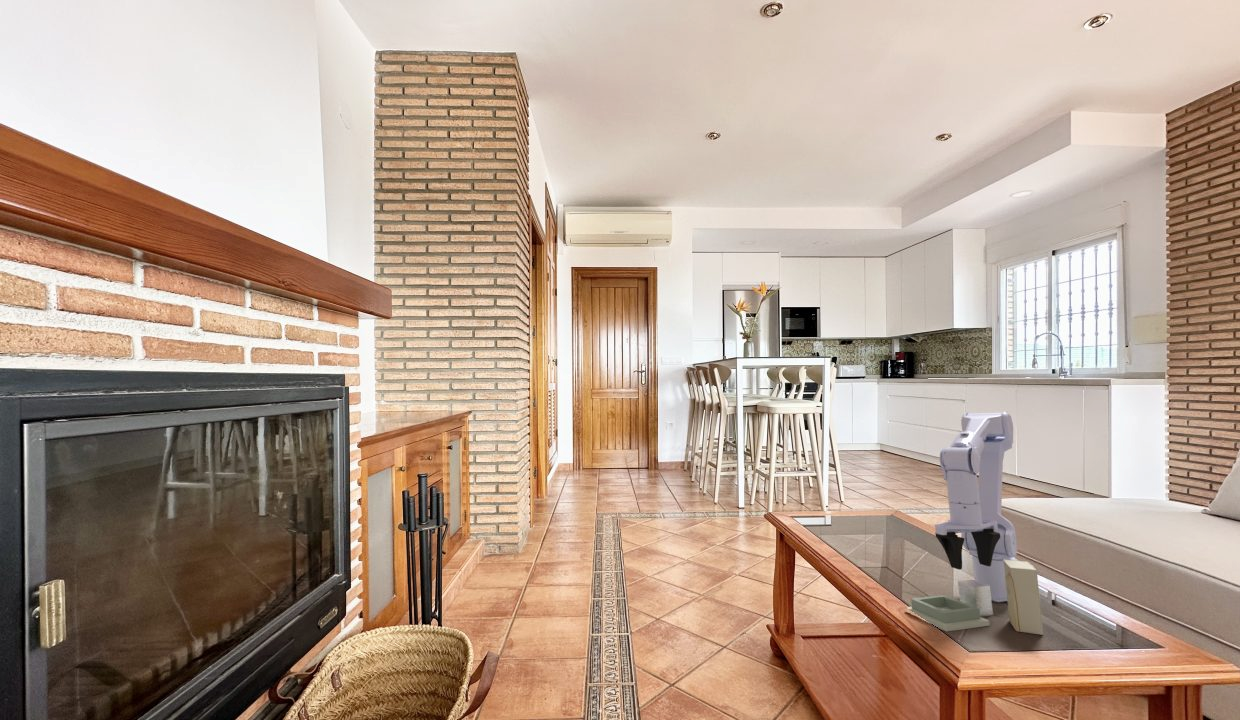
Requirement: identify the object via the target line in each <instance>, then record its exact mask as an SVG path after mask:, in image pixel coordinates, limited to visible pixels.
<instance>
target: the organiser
mask: <svg viewBox="0 0 1240 720" xmlns="http://www.w3.org/2000/svg"><path fill="white" fill-rule="evenodd" d="M910 602H911V606H906V607H907V609H909V610H910V611H912V612H914V613H915V614H917V615H918V616H920V617H921V618H923V619H925V620H926V621H928V622H930V623H931V624H933V625H934V626H933V625H932V626H933V627H935V626H936V628H937V627H938V629H940V630H942V631H945V632H953V631H960V630H968V629H975V628H976V629H977V628H984V627H989V626H990V625H991V624H990V620H989V619H987V618H984V617H983V616H982V617H980V610H979V608H976V607H974V606H971V605H969V604H966V603H964V602H961V601H960V600H958V599H956V598H954V597H950V596H948V595H946V594H940V595H932V596H923V597H913V598H911V599H910ZM931 624H930V625H931Z"/></svg>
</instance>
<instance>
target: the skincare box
mask: <svg viewBox="0 0 1240 720" xmlns="http://www.w3.org/2000/svg"><path fill="white" fill-rule="evenodd" d="M1003 561H1004V569H1005V580H1006V590H1007V601H1006V602H1007V611H1008V612H1007V613H1008V620H1009V622H1010V624H1011V626H1012V627H1013V629H1014V631H1016V632H1021V633H1026V634H1031V635H1032V634H1034V635H1040V636H1041V635H1044V631H1043V628H1044V627H1043V621H1042V619H1043V618H1042V610H1041V600H1040V599H1041V598H1040V588H1039V581H1038V580H1039V579H1038V570H1037V568H1035V567H1034V565H1032V564H1031V563H1030V562H1029V561H1022V560H1018V561H1014V560H1005V559H1004V560H1003Z"/></svg>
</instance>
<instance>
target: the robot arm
mask: <svg viewBox="0 0 1240 720" xmlns="http://www.w3.org/2000/svg"><path fill="white" fill-rule="evenodd" d="M960 423H961V429H962V431H960V433H958V434H957V435H956V437H955V438H954V440H953V442H952V443H951V445H950V446H949V447H947V446H946V447H944V449H941V450H940V453H939V464H940V468H941V471H942V474H943V475H942V476H943V479H944V481H945V482H946V489H947V491H946V492H947V499H948V508H949V510H948V511H949V519H948V520H947V521H945V522H941V523H937V524H934V526H935V527H934V528H935V529H934V530H935V531H934V532H935V534H934V535H935V537H936V539H937V540H938V541H939V543H940V544H941V547H942V548H943V550H944V551H945V554H946V557H947V559H948V562H949V565H950V566H951V568H953V569H956V570H963V548H964V549H965V551H967V552H969V556H970V555H971V557H972V566H973V577H974V580H975V581H978V582H981V583H984V584H987V585H990V592H991V601H992V602H996V603H1004V602H1007V590H1006V580H1005V569H1004V561H1003V560H1004V559H1005V560H1014V561H1019V560H1018V559H1017V558H1016V556H1017V553H1018V540H1017V536H1016V535H1017V534H1016V533H1017V532H1016V527H1015V525H1013V523H1012V522H1011V521H1010V520H1009V519H1007V518H1005V517H1004V516H1003V515H1002V504H1003V503H1002V499H1003V498H1002V497H1003V493H1002V492H1003V471H1004V470H1003V468H1004V467H1003V463H1004V457H1005V452H1007V451H1009V450H1011V449H1012V448H1013V444H1014V423H1013V419H1012V416H1011V414H1010V413H1008V411H1002V412H980V413H979V412H974V413H973V412H970V413H969V412H965V413H964V414H962V416H961V419H960ZM957 534H961V535H960V536H959V535H957Z"/></svg>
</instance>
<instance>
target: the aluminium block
mask: <svg viewBox="0 0 1240 720" xmlns="http://www.w3.org/2000/svg"><path fill="white" fill-rule="evenodd" d="M957 586H958V596H959V597H958V598H959V601H961V602H964V603H966V604H969V605H971V606H974V607H976V608H979V610H980V617H982V618H983V617H989V616H994V611H993V604H992V602H993V601H992V600H991V592H990V585H987V584H984V583H981V582H978V581H975V579H967V580H959V581H957Z"/></svg>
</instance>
